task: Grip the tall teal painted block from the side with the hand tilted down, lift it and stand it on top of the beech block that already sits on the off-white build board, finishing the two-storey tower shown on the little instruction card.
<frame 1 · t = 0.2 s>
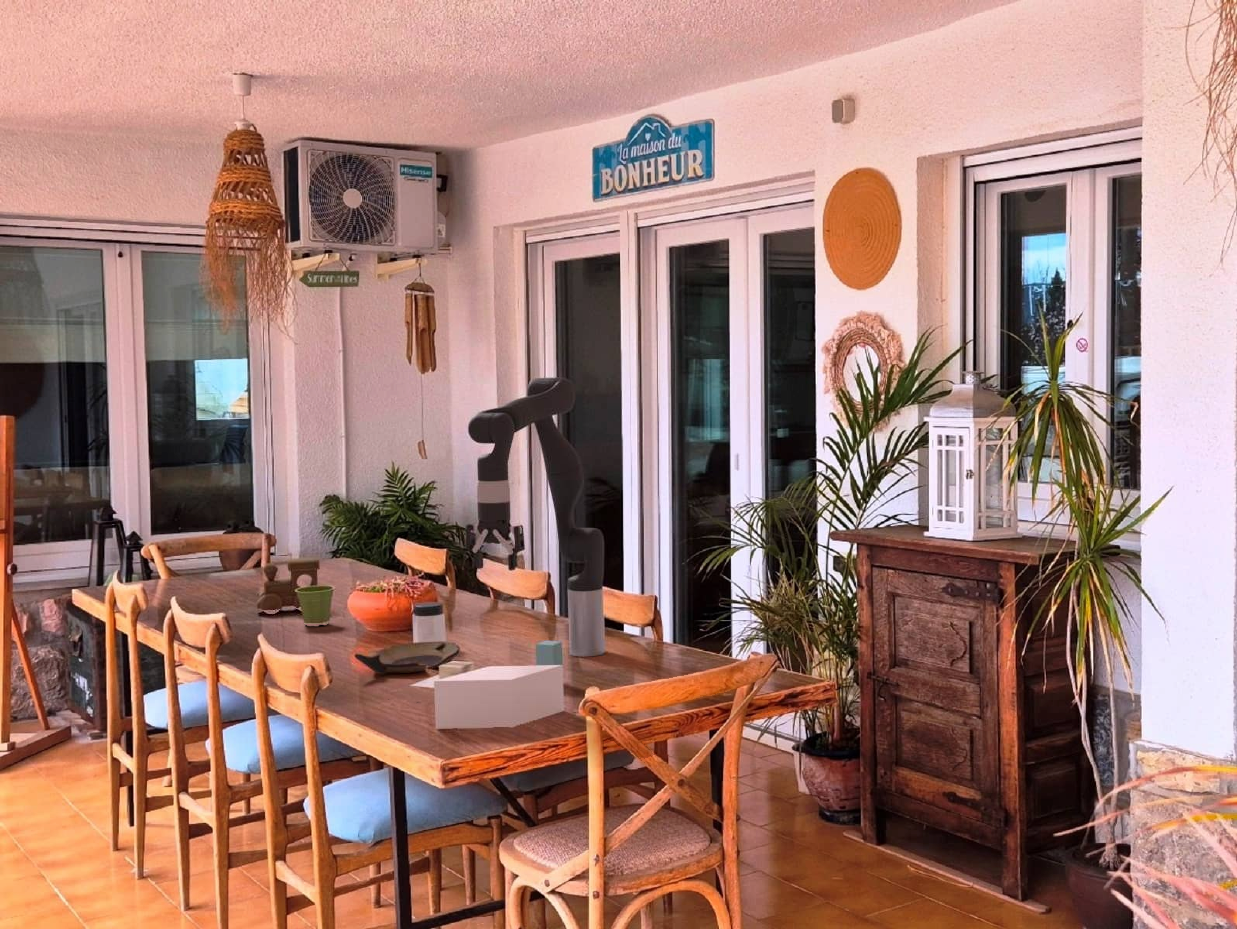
hand: (495, 569, 304), 29 cm above the table, tool pointing down, fingers open, 8 cm apart
instruction card: (530, 695, 302), on the table
build board: (457, 684, 315), on the table
oil lamp: (404, 672, 331), on the table
plant pot: (316, 626, 399), on the table
wooden toy train: (289, 612, 425), on the table
lower block: (457, 680, 314), point 1 cm above the table, touching build board
tall block: (550, 684, 312), on the table
wide white block: (501, 721, 281), on the table
jar: (429, 648, 360), on the table
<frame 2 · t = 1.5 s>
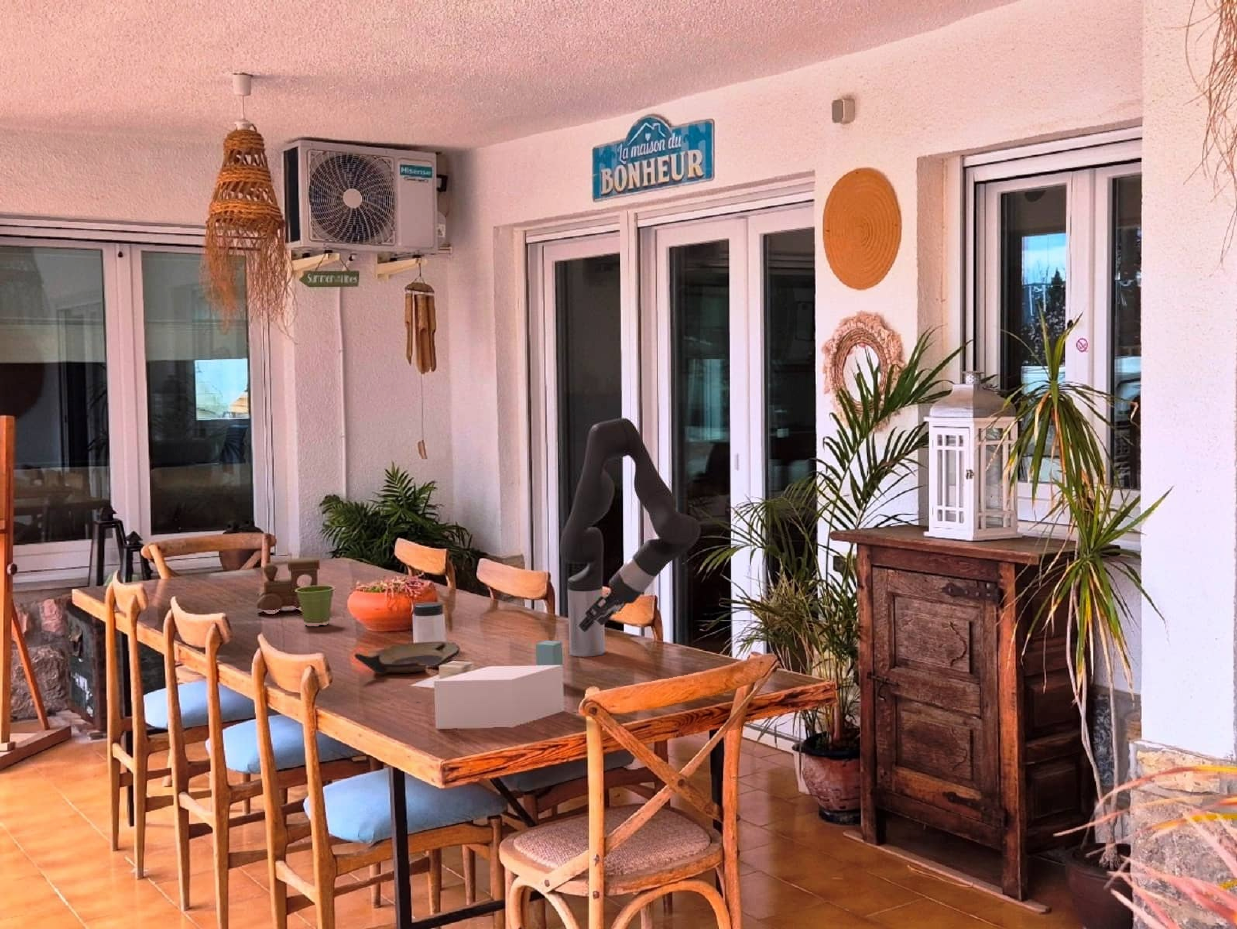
hand: (590, 625, 306), 15 cm above the table, tool tilted 45°, fingers open, 8 cm apart
nothing on the table moved.
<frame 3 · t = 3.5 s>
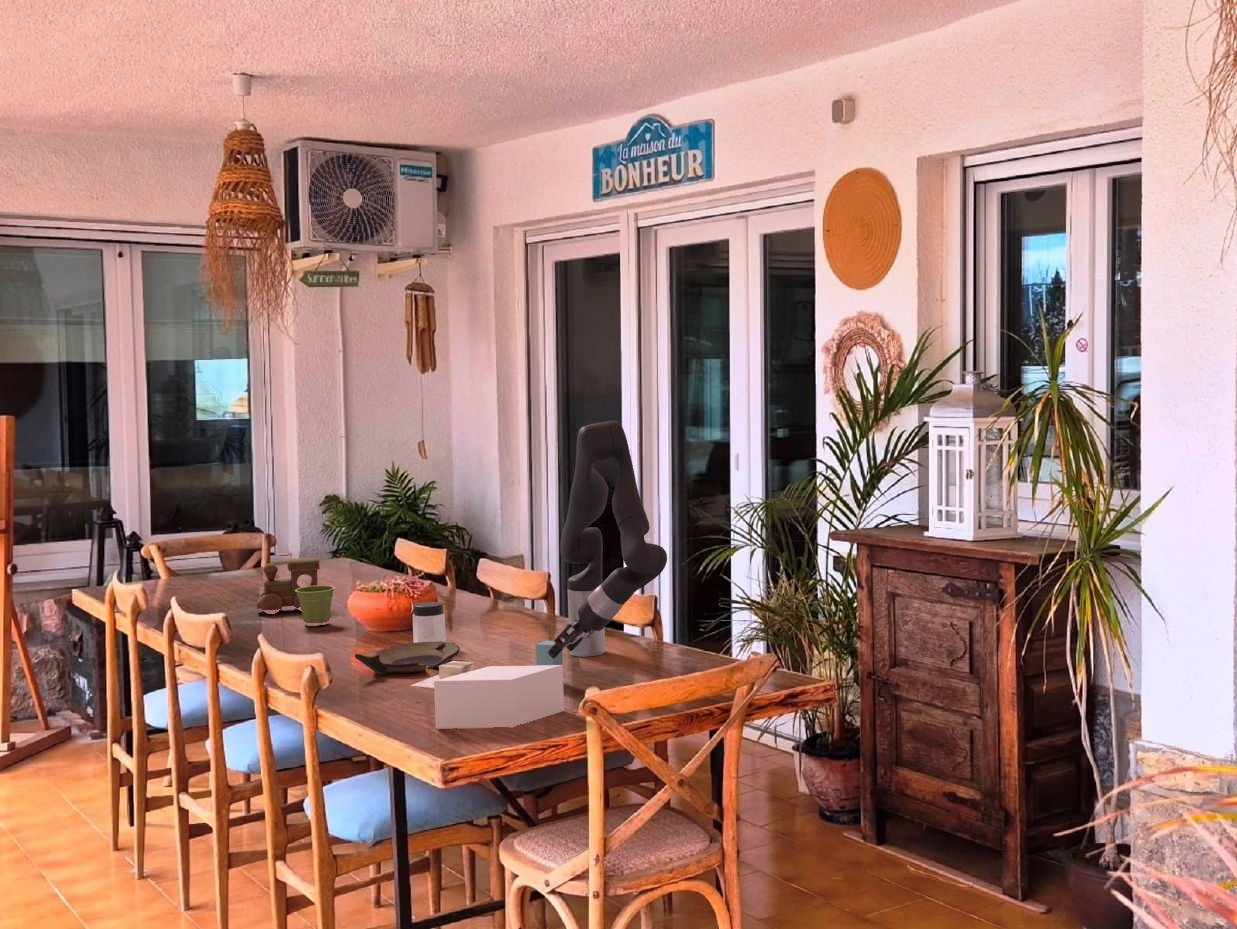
hand: (559, 651, 311), 8 cm above the table, tool tilted 45°, fingers open, 8 cm apart
nothing on the table moved.
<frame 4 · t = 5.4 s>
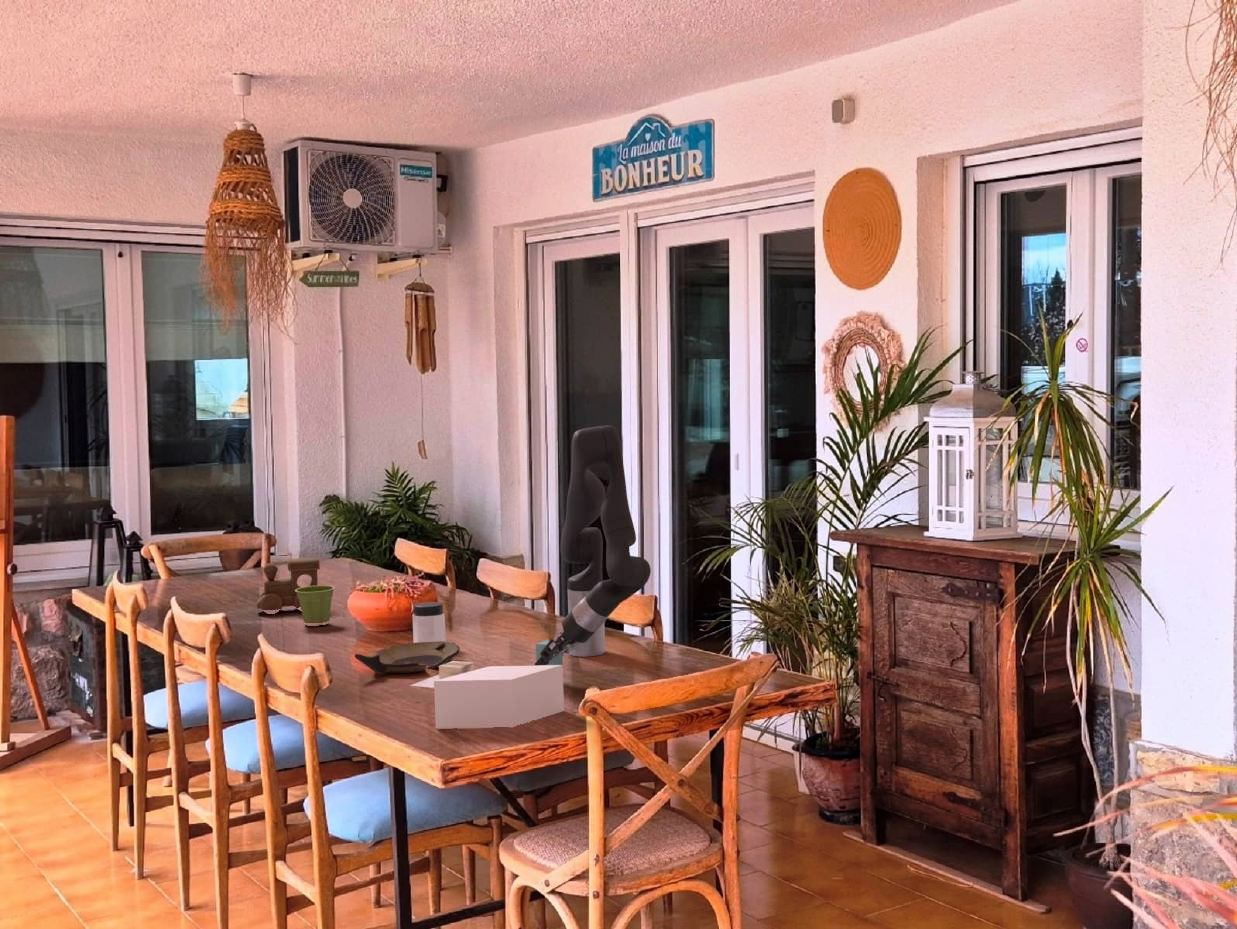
hand: (542, 665, 313), 4 cm above the table, tool tilted 45°, fingers closed on tall block, 4 cm apart
tall block: (550, 684, 312), on the table, touching gripper
everything else where it was.
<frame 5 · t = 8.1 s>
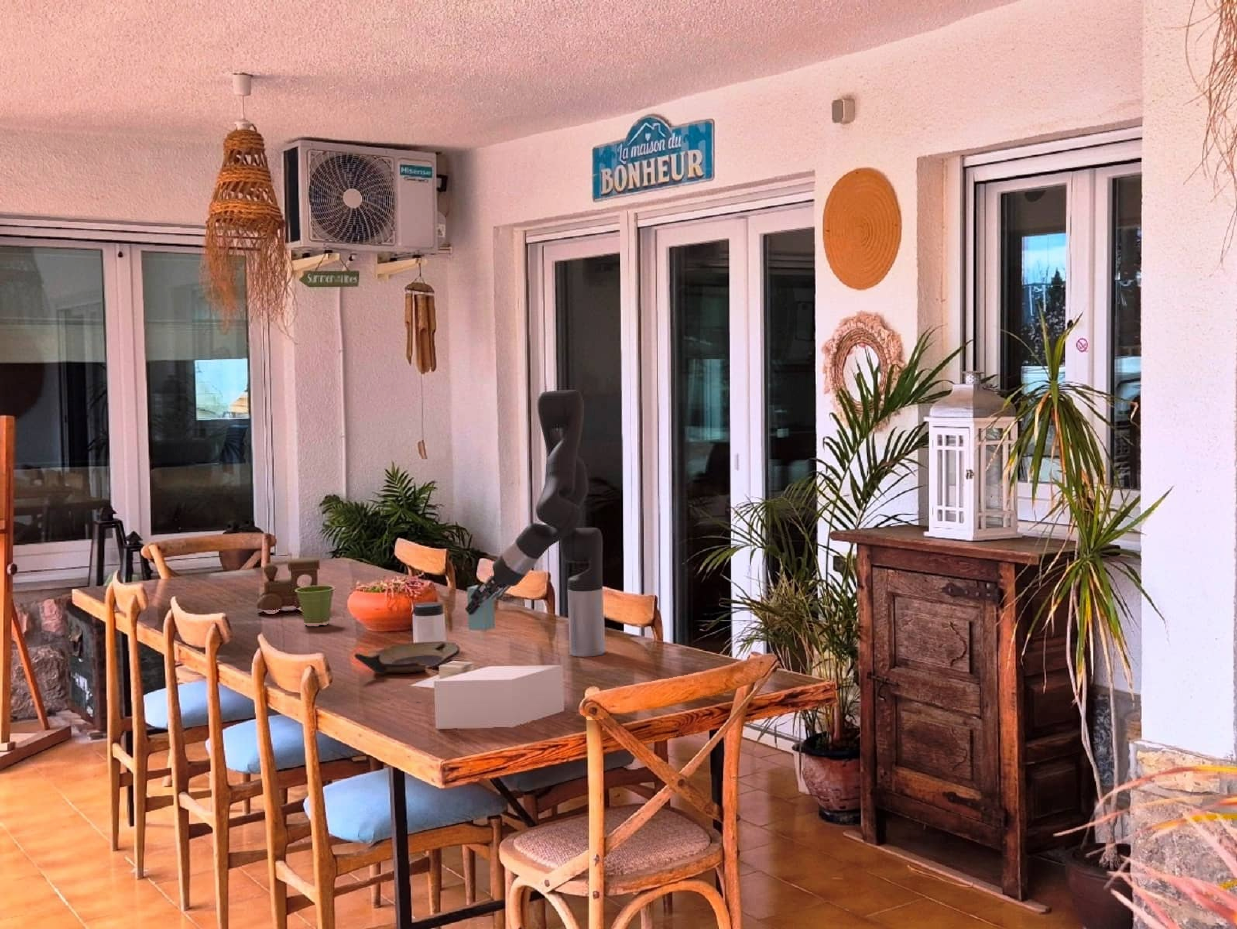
hand: (474, 610, 313), 18 cm above the table, tool tilted 45°, fingers closed on tall block, 4 cm apart
tall block: (481, 628, 313), point 14 cm above the table, touching gripper
everything else where it was.
when the fingers open (11 cm above the table, at t = 10.8 s): tall block drops 1 cm, resting on lower block.
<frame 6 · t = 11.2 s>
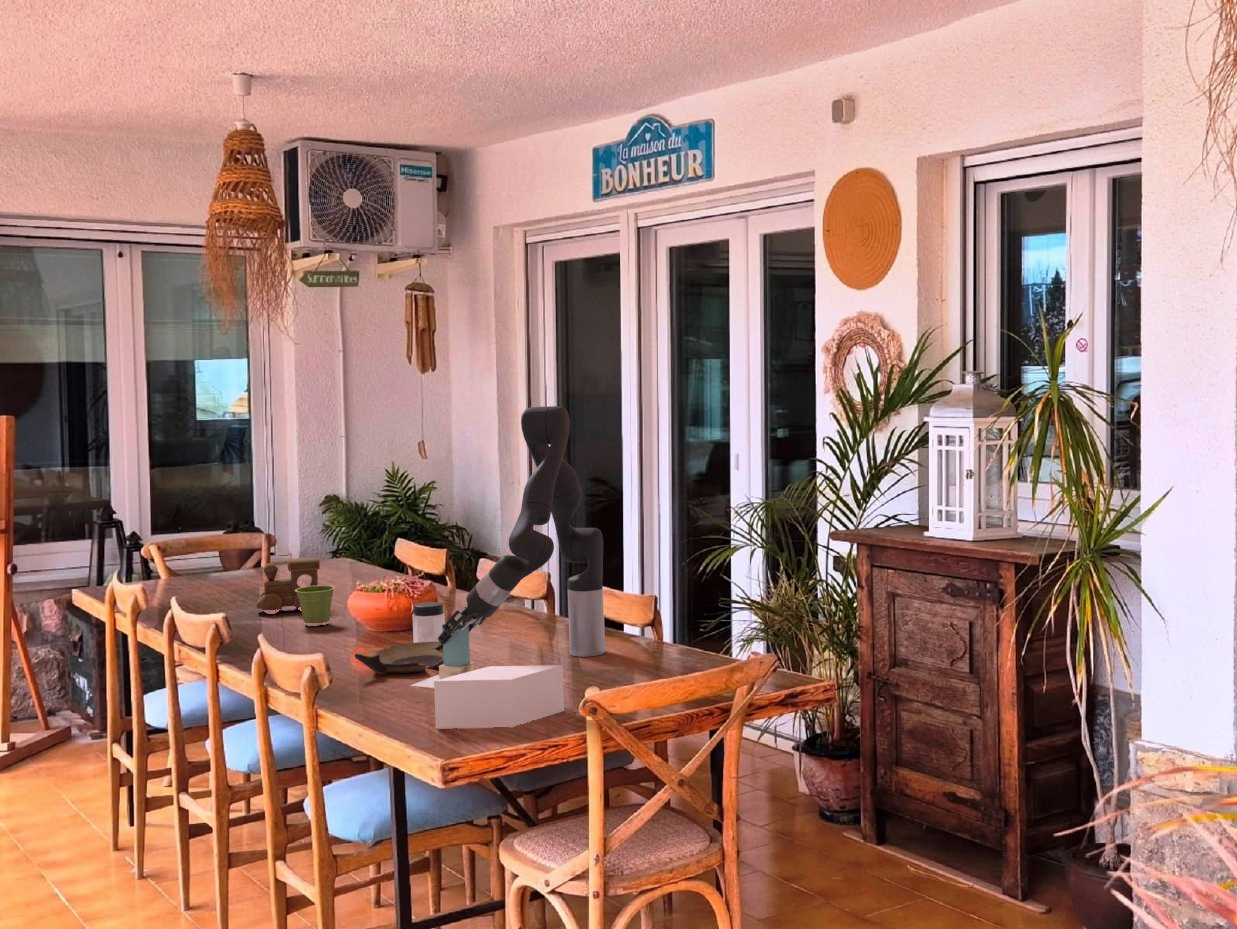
hand: (450, 638, 314), 11 cm above the table, tool tilted 45°, fingers open, 8 cm apart
lower block: (457, 680, 314), point 1 cm above the table, touching build board, tall block
tall block: (456, 664, 314), point 5 cm above the table, touching lower block
everything else where it was.
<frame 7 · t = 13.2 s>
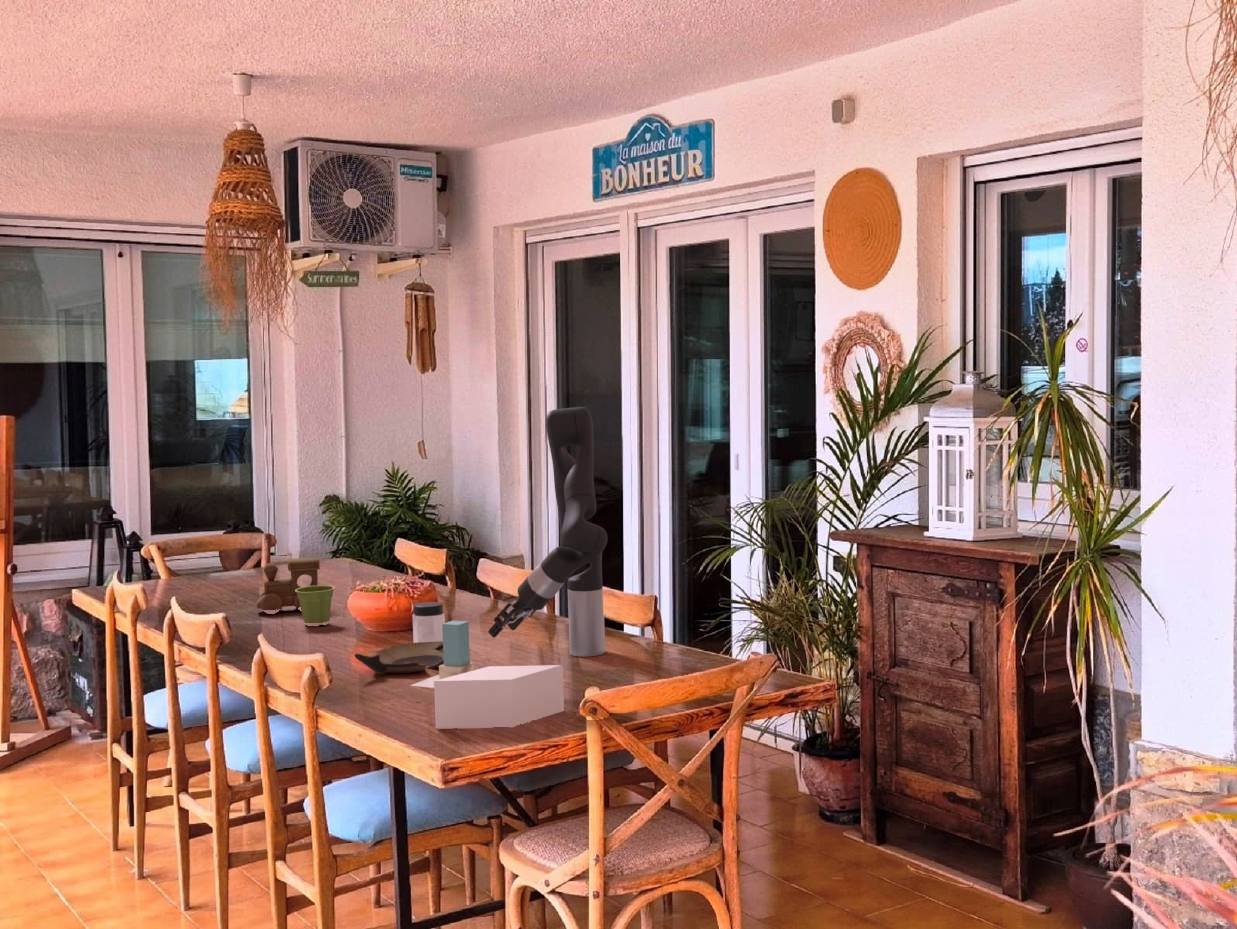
hand: (501, 631, 309), 14 cm above the table, tool tilted 45°, fingers open, 8 cm apart
nothing on the table moved.
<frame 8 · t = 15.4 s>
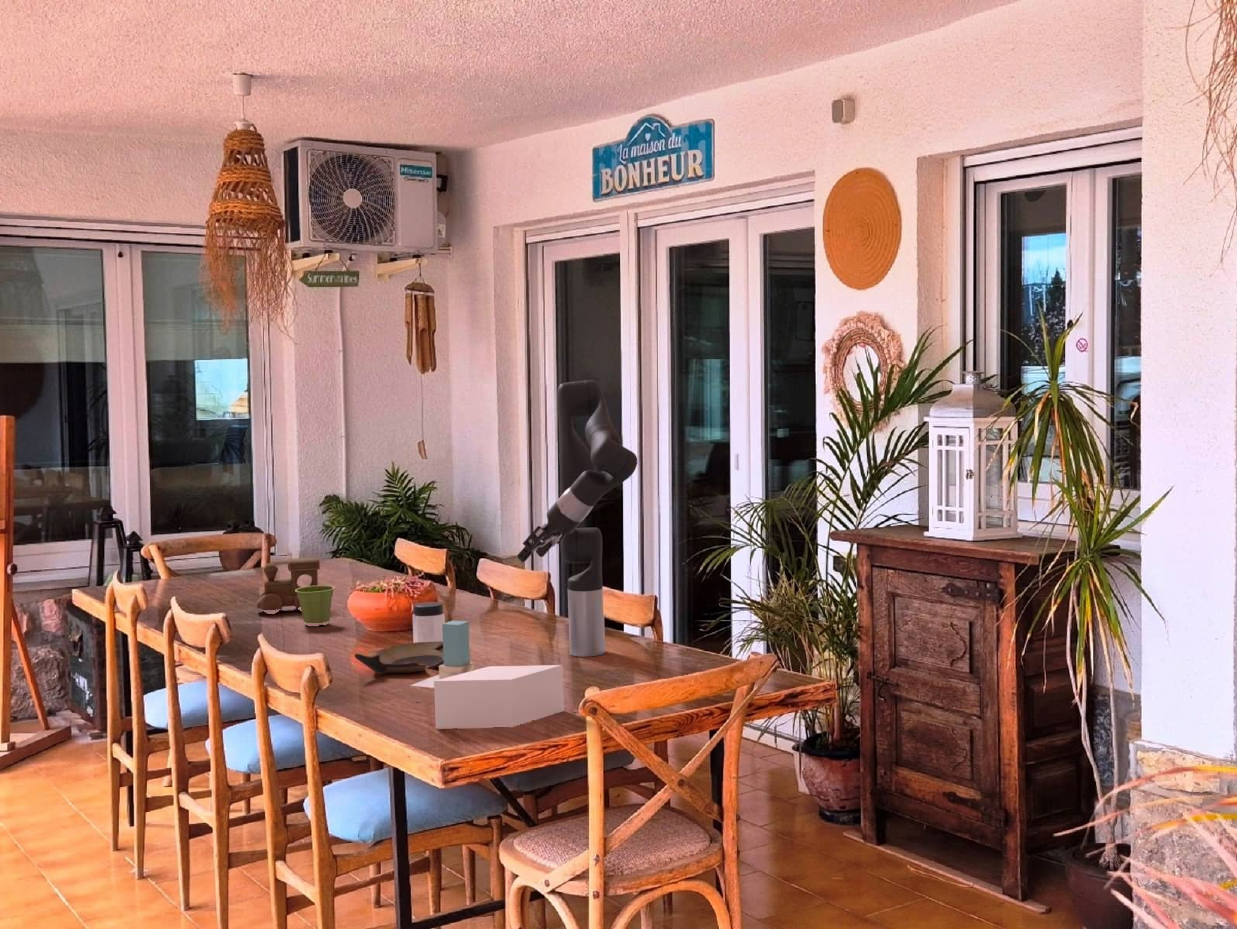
hand: (529, 556, 310), 31 cm above the table, tool tilted 45°, fingers open, 8 cm apart
nothing on the table moved.
at the end: tall block 0.1 cm off-centre on the lower block, point 4.0 cm above the lower block's base; tall block tilted 0°; the gripper is holding nothing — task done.
